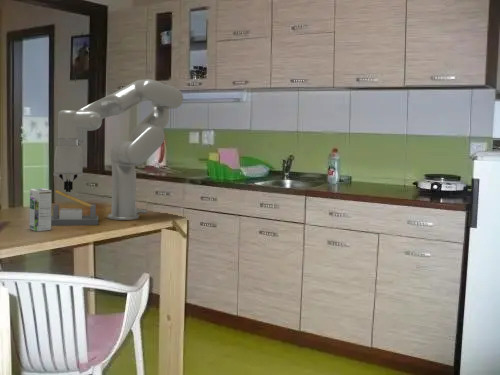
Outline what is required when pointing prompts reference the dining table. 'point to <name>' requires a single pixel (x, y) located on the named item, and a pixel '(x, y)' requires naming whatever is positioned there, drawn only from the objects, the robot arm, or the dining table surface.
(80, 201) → the yellow long flat bar
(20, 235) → the dining table surface
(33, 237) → the dining table surface
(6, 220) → the dining table surface
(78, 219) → the base
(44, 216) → the syrup box
